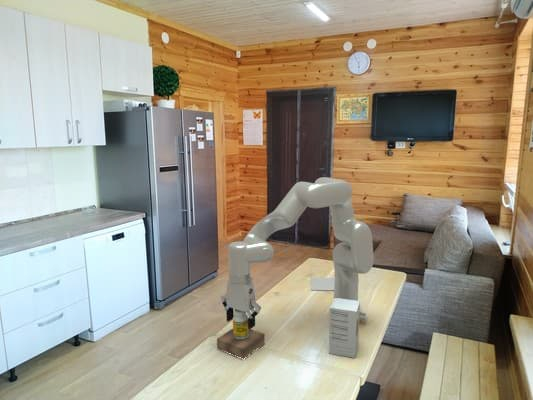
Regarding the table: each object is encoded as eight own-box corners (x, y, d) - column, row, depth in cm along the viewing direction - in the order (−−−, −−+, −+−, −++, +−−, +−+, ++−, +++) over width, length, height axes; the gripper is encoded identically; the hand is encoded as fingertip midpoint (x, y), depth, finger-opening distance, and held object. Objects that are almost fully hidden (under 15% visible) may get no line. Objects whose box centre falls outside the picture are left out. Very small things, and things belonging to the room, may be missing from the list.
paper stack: (356, 279, 200) (356, 278, 200) (363, 299, 176) (363, 298, 176) (311, 278, 203) (311, 277, 202) (311, 298, 178) (311, 296, 178)
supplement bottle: (247, 331, 140) (246, 305, 138) (250, 338, 135) (249, 312, 133) (232, 333, 138) (231, 307, 137) (235, 340, 133) (234, 314, 132)
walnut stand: (264, 344, 138) (264, 333, 138) (244, 360, 129) (243, 349, 128) (238, 334, 145) (238, 324, 145) (217, 349, 136) (216, 338, 135)
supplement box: (355, 359, 129) (357, 312, 126) (328, 354, 132) (329, 307, 129) (359, 344, 138) (360, 300, 135) (333, 340, 141) (334, 296, 138)
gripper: (266, 279, 131) (266, 326, 134) (227, 269, 141) (228, 313, 143) (253, 286, 125) (253, 335, 128) (213, 275, 135) (215, 321, 137)
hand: (240, 323), depth 136 cm, fingers open, 9 cm apart
